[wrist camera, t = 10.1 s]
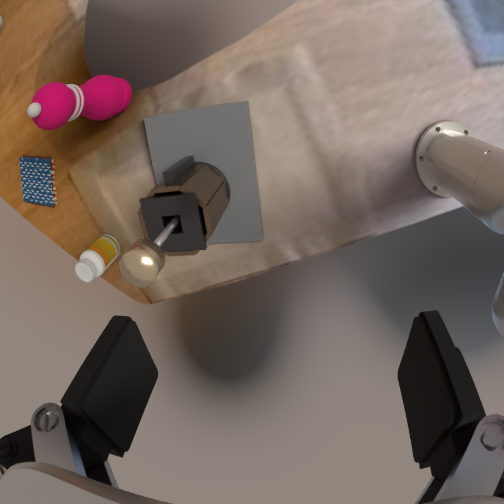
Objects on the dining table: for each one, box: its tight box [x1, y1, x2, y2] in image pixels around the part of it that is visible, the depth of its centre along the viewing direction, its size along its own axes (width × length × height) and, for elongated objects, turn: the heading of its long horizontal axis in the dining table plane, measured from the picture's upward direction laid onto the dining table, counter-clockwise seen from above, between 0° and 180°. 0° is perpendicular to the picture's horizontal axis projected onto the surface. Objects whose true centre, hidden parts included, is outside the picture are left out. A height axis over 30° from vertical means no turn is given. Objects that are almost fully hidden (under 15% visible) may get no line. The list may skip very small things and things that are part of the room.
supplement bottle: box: [75, 234, 120, 282], centre depth 51 cm, size 5×5×10 cm
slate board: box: [144, 101, 264, 244], centre depth 46 cm, size 16×22×1 cm
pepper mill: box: [27, 75, 132, 130], centre depth 32 cm, size 7×7×20 cm
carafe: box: [138, 155, 230, 256], centre depth 41 cm, size 10×11×12 cm
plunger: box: [119, 191, 205, 288], centre depth 36 cm, size 7×7×20 cm
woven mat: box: [19, 155, 58, 207], centre depth 49 cm, size 10×11×2 cm
